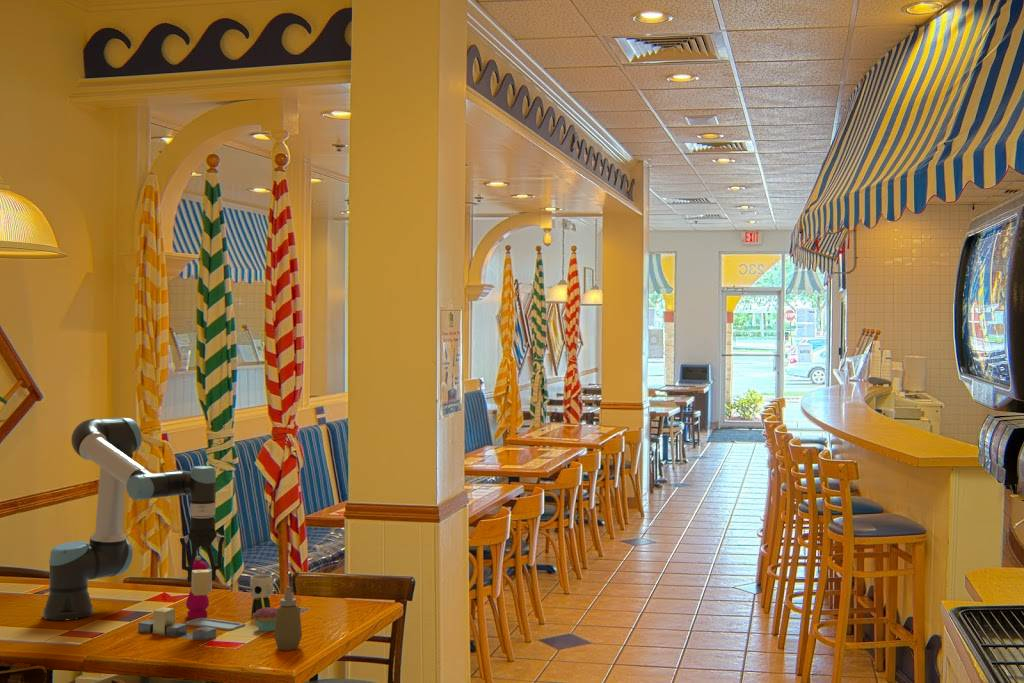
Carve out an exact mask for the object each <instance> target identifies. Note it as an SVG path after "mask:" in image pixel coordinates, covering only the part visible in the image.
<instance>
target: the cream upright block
mask: <svg viewBox="0 0 1024 683" xmlns="http://www.w3.org/2000/svg"><path fill="white" fill-rule="evenodd" d="M152 613H153V617H152V620H153V633H155V634H154V635H159V634H162V635H161V636H166V634H167V627H168V626H171V625H174V624H176V608H172V607H166V606H165V607H164V606H163V607H160V608H157V609H156V608H155V609H153V612H152Z"/></svg>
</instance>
